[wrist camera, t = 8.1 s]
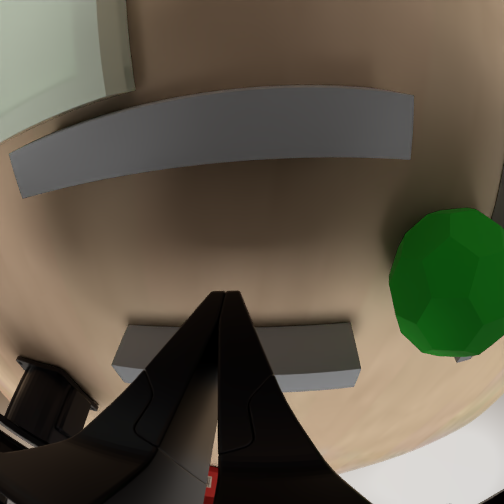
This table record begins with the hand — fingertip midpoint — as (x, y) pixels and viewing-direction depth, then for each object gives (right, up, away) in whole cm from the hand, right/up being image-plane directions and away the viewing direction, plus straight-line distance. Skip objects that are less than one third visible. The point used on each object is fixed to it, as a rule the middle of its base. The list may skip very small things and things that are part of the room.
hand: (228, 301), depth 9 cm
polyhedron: (+8, +2, +1) cm, 8 cm away
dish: (-7, +9, -3) cm, 12 cm away
